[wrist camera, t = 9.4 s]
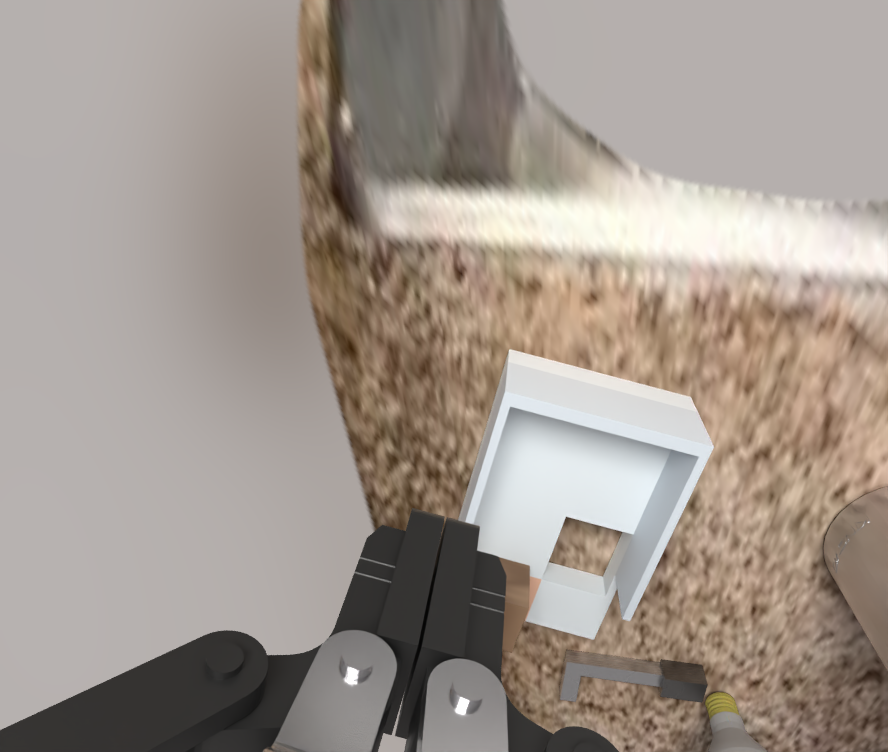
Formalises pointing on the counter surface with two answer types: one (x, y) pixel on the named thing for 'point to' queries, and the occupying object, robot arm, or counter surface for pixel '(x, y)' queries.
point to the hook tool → (633, 674)
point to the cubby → (582, 481)
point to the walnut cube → (515, 601)
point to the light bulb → (728, 726)
